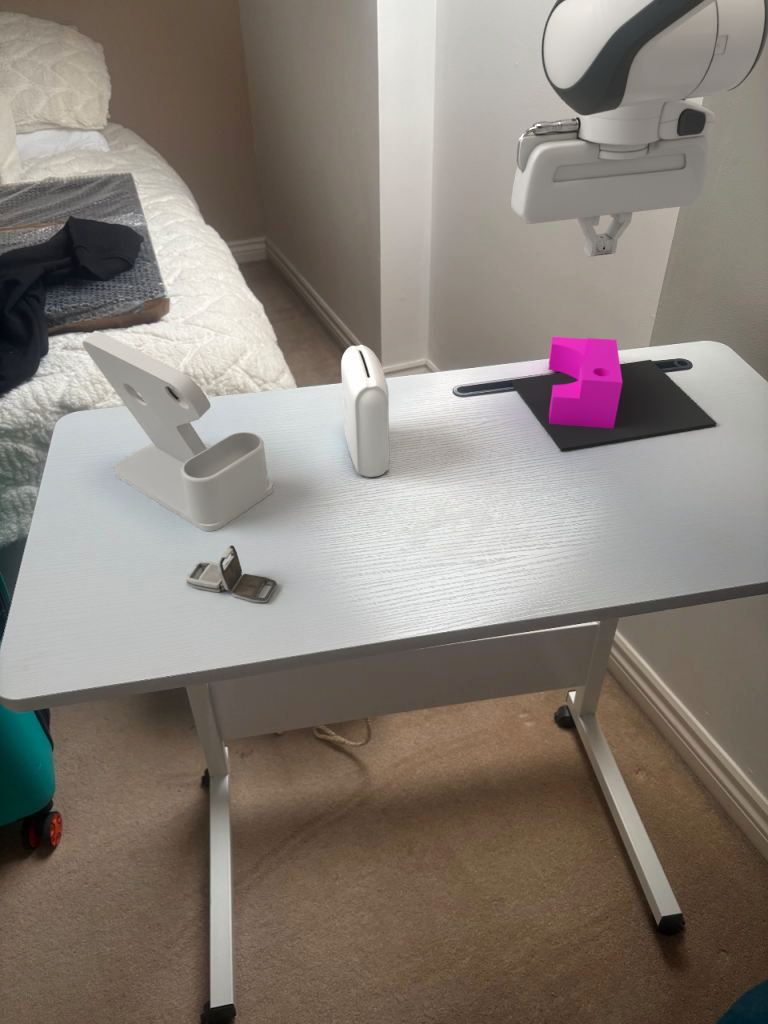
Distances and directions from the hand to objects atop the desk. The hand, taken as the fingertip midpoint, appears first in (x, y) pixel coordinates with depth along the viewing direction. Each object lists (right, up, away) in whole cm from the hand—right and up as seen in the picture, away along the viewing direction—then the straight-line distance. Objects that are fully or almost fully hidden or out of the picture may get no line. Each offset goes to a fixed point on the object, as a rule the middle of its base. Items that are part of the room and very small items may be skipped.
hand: (599, 253), depth 89 cm
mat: (+5, -14, +15) cm, 21 cm away
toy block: (+5, -11, +13) cm, 18 cm away
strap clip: (-38, -35, -9) cm, 52 cm away
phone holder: (-44, -25, +3) cm, 51 cm away
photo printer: (-25, -21, +7) cm, 34 cm away
